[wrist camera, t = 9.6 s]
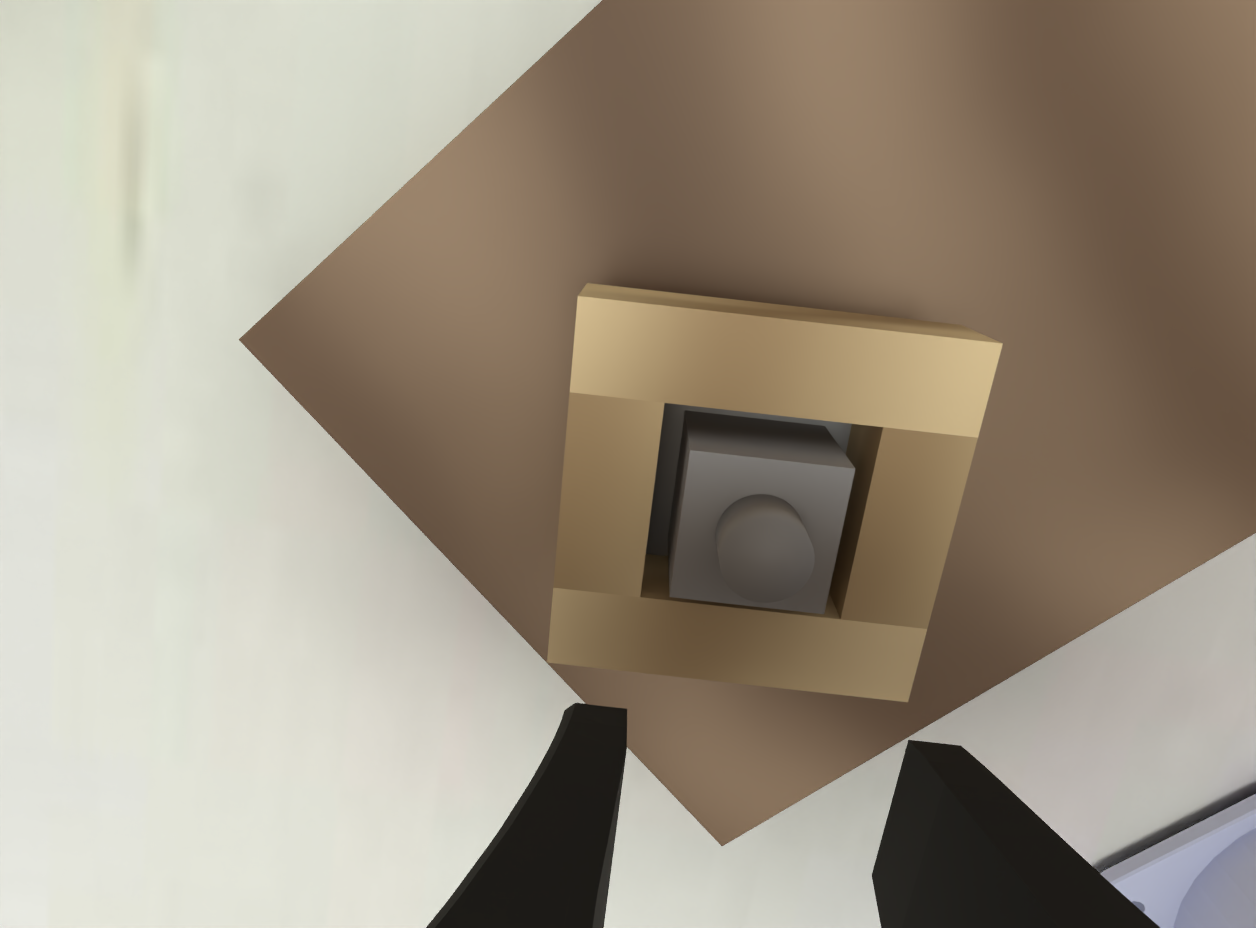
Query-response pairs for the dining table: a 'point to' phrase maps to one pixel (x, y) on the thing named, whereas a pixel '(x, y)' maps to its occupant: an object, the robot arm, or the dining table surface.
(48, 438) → the dining table surface
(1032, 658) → the board
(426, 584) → the dining table surface
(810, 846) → the dining table surface
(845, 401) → the square wooden ring
